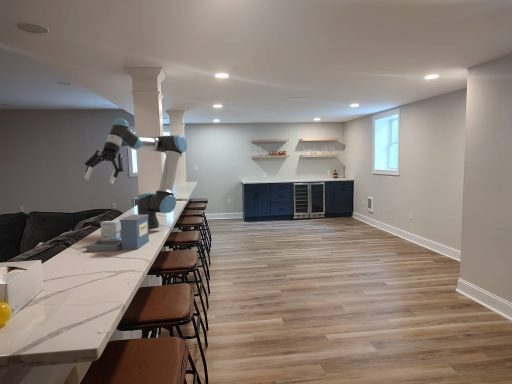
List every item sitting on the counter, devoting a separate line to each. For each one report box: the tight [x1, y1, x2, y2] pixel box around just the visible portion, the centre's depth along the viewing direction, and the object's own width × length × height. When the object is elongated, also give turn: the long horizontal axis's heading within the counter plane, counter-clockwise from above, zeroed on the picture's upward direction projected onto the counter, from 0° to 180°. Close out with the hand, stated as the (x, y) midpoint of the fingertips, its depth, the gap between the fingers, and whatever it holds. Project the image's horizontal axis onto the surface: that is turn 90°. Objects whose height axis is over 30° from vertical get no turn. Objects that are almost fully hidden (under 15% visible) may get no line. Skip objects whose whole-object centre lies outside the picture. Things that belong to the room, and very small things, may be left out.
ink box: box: [100, 220, 121, 240], centre depth 173 cm, size 9×5×12 cm, turn 84°
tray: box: [86, 239, 122, 252], centre depth 161 cm, size 11×15×3 cm
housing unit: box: [119, 214, 150, 250], centre depth 166 cm, size 17×9×15 cm, turn 179°
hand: (98, 180), depth 162 cm, fingers open, 13 cm apart
